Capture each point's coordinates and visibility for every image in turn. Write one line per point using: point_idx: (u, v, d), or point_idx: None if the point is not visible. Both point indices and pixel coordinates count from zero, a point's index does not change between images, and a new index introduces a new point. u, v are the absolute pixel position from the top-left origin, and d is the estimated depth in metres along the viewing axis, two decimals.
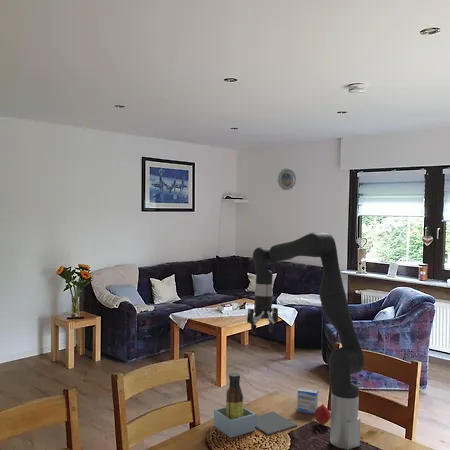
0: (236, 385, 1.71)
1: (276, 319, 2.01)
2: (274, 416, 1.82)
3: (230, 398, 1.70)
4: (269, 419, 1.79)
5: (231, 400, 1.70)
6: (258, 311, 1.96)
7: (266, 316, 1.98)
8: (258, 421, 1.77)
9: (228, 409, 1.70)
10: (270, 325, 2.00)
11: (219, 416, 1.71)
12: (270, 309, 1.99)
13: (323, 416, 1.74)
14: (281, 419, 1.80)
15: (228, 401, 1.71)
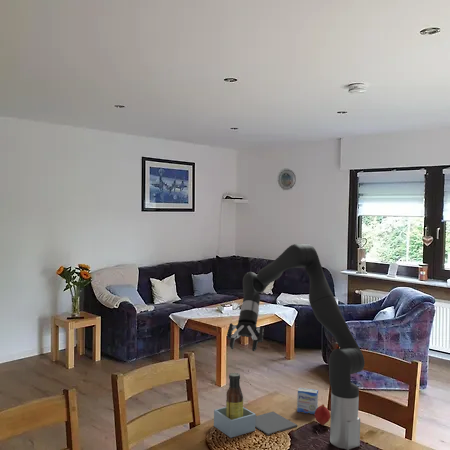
0: (236, 385, 1.71)
1: (260, 336, 1.85)
2: (274, 416, 1.82)
3: (230, 398, 1.70)
4: (269, 419, 1.79)
5: (231, 400, 1.70)
6: (238, 326, 1.90)
7: (247, 332, 1.87)
8: (258, 421, 1.77)
9: (228, 409, 1.70)
10: (253, 342, 1.84)
11: (219, 416, 1.71)
12: (253, 326, 1.89)
13: (323, 416, 1.74)
14: (281, 419, 1.80)
15: (228, 401, 1.71)
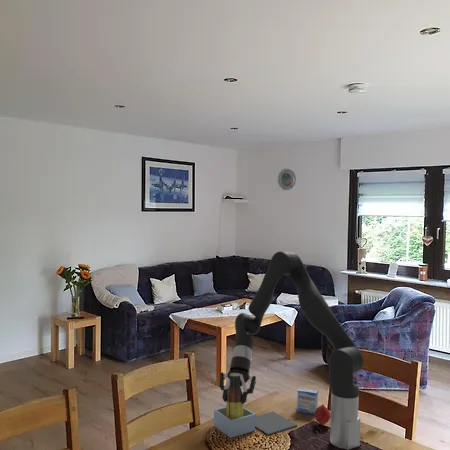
0: (236, 385, 1.71)
1: (250, 387, 1.72)
2: (274, 416, 1.82)
3: (230, 398, 1.70)
4: (269, 419, 1.79)
5: (231, 400, 1.70)
6: None
7: None
8: (258, 421, 1.77)
9: (228, 409, 1.70)
10: None
11: (219, 416, 1.71)
12: (246, 374, 1.76)
13: (323, 416, 1.74)
14: (281, 419, 1.80)
15: (228, 401, 1.71)
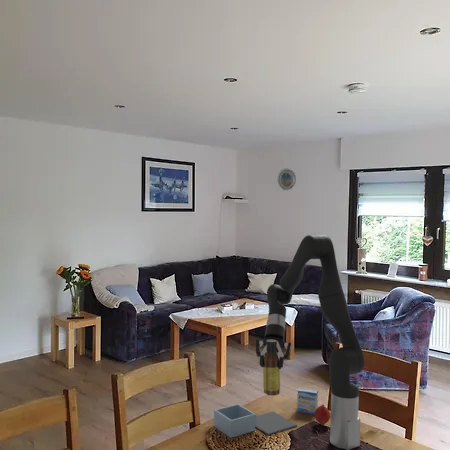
0: (273, 351, 1.75)
1: (286, 353, 1.77)
2: (274, 416, 1.82)
3: (267, 363, 1.74)
4: (269, 419, 1.79)
5: (269, 365, 1.74)
6: (265, 342, 1.81)
7: None
8: (258, 421, 1.77)
9: (266, 374, 1.75)
10: (279, 360, 1.76)
11: (219, 416, 1.71)
12: (281, 341, 1.80)
13: (323, 416, 1.74)
14: (281, 419, 1.80)
15: (266, 366, 1.75)
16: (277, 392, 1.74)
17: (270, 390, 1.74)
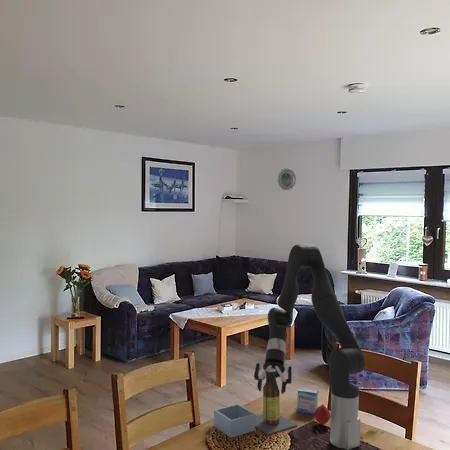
0: (273, 380, 1.75)
1: (289, 378, 1.77)
2: None
3: (267, 393, 1.74)
4: None
5: (268, 395, 1.74)
6: (265, 366, 1.82)
7: None
8: (258, 421, 1.77)
9: (265, 403, 1.75)
10: (282, 384, 1.76)
11: (219, 416, 1.71)
12: (281, 366, 1.81)
13: (323, 416, 1.74)
14: (281, 419, 1.80)
15: (265, 396, 1.75)
16: (277, 421, 1.75)
17: (269, 419, 1.74)
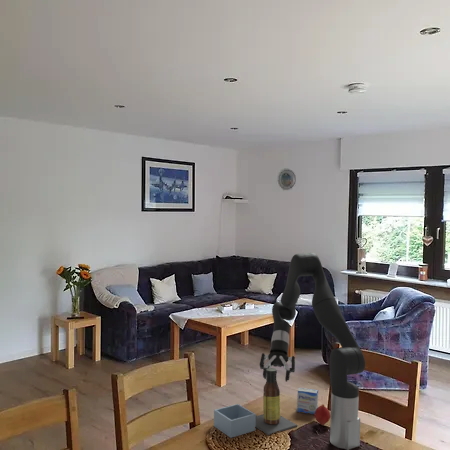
0: (273, 380, 1.76)
1: (292, 366, 1.90)
2: None
3: (267, 392, 1.75)
4: None
5: (268, 394, 1.74)
6: (270, 356, 1.94)
7: (280, 362, 1.92)
8: (258, 421, 1.77)
9: (265, 403, 1.75)
10: (286, 373, 1.89)
11: (219, 416, 1.71)
12: (285, 356, 1.93)
13: (323, 416, 1.74)
14: (281, 419, 1.80)
15: (265, 395, 1.75)
16: (277, 421, 1.75)
17: (269, 419, 1.74)
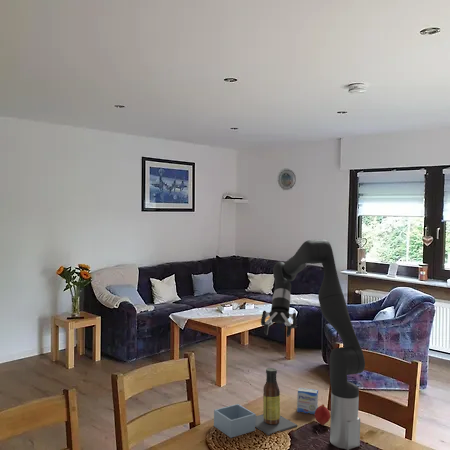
0: (273, 380, 1.75)
1: (293, 322, 1.90)
2: None
3: (267, 392, 1.75)
4: None
5: (268, 394, 1.74)
6: (271, 313, 1.95)
7: (281, 318, 1.92)
8: (258, 421, 1.77)
9: (265, 403, 1.75)
10: (287, 329, 1.89)
11: (219, 416, 1.71)
12: (286, 313, 1.94)
13: (323, 416, 1.74)
14: (281, 419, 1.80)
15: (265, 395, 1.75)
16: (277, 421, 1.75)
17: (269, 419, 1.74)
